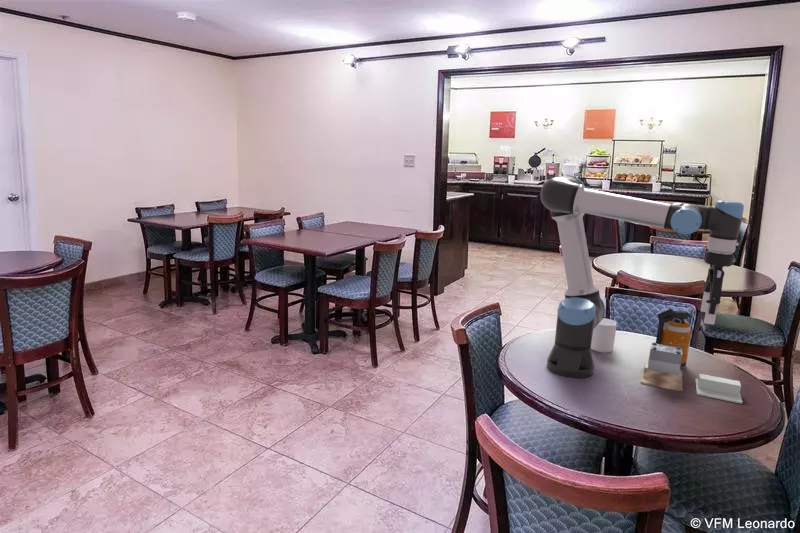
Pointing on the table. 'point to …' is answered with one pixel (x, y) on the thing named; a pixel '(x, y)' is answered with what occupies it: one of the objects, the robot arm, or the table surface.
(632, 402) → the table surface
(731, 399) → the stand
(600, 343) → the mug
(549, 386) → the table surface
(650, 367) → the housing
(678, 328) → the canister
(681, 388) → the stand
